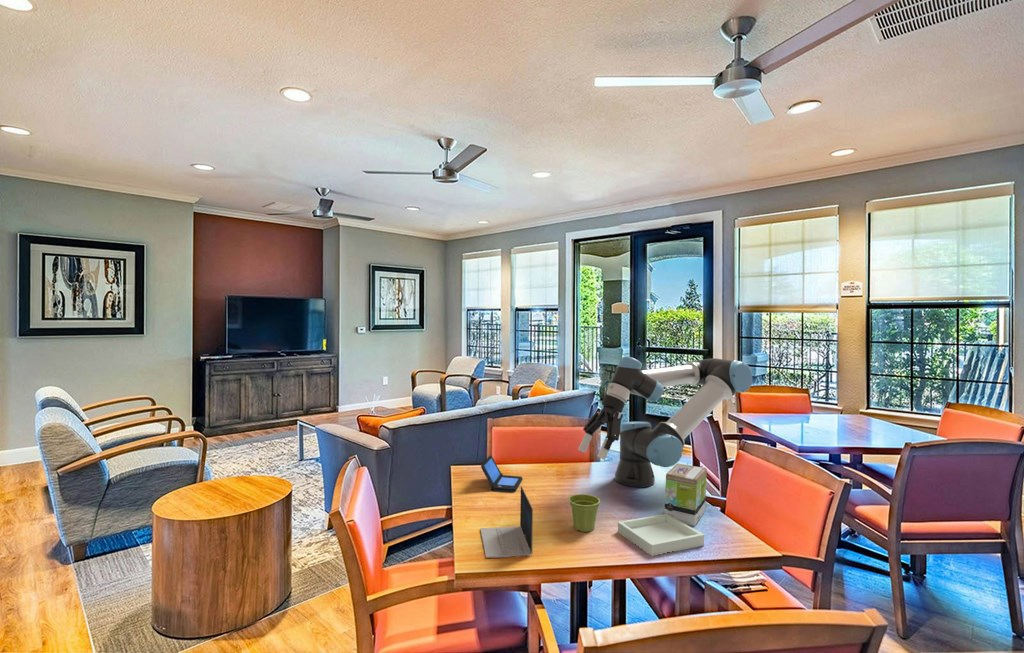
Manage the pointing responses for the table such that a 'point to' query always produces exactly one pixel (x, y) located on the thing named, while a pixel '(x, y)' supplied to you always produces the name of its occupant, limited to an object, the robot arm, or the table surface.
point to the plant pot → (584, 511)
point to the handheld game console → (499, 477)
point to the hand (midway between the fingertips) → (590, 454)
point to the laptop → (511, 535)
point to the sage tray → (660, 534)
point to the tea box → (685, 493)
